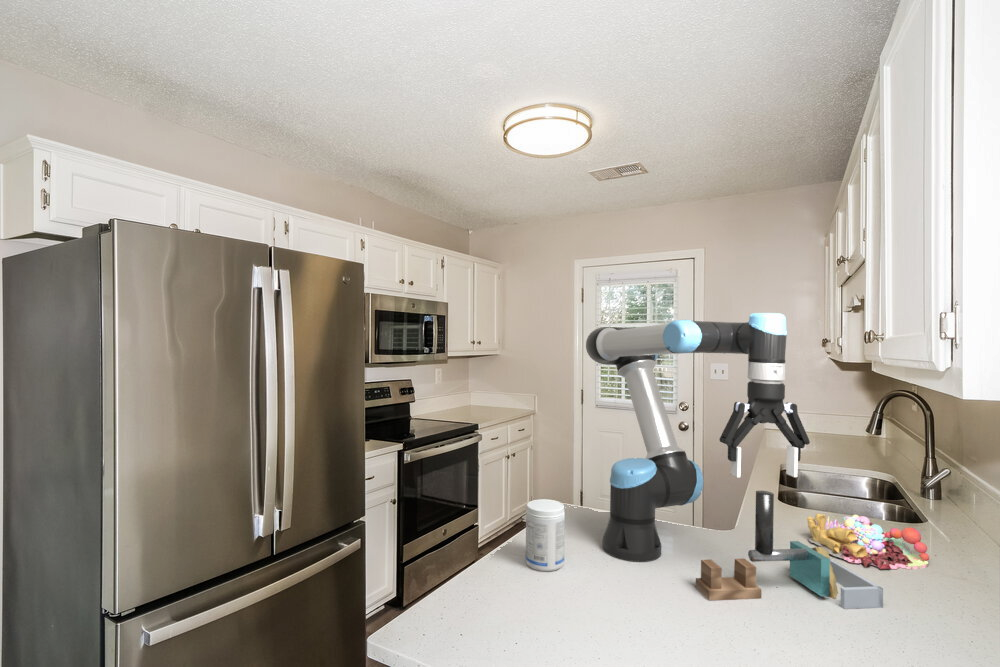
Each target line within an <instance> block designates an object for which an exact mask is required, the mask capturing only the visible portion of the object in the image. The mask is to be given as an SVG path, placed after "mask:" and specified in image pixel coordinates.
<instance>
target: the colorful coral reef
mask: <svg viewBox="0 0 1000 667" xmlns="http://www.w3.org/2000/svg"><path fill="white" fill-rule="evenodd" d="M806 520H807V528H808V529H809V532H810V534H811V536H812V537H809V538H808V542H809V543H813V544H815V545H817V546H818V547H822V548H823V549H825V550H826V551H828V554H829V555H831V556H833V557H836V558H839V559H842V560H845V561H847V562H848V563H851V564H862V565H863V566H864V568H867V567H868V566H871V565H872V566H874V567H877V568H879V570H898V569H899V568H901V569H907V570H918V569H926V568H927V567H928V566H929V562H928V561H929V560H930V555H929V554H928V553H927V551H928V546H927V544H925V542H922V541H921V540H922V536H921V533H920V532H919V530H917V529H916V528H913V527H904V528H903V529H902V530H900V529H899V528H896V527H893V528H891V529H890V530H889V531H884V530H883V528H882V527H881V525H878V524H873V522H871V520H870V519H869V518H868V517H867V516H863V515H860V516H859V515H858V514H853V515H852V516H848V515H847V516H844V517H843V518H842V520H843V522H842V523H839V522H838V521H837V518H835V520H834V521H833V520H830V516H829V515H828V516H826V514H822V513H821V514H820V513H815V515H814V518H813V517H811V516H808V517H807V518H806ZM901 538H902V540H901ZM908 544H909V545H913V549H914V550H915V552H917V553H919V555H918V554H916V553H915V552H913V551H911V549H910V547H909V545H908Z"/></svg>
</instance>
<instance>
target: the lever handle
mask: <svg viewBox="0 0 1000 667" xmlns="http://www.w3.org/2000/svg"><path fill="white" fill-rule="evenodd" d="M774 496H775V494H774V493H773V492H771V491H768V490H756V491H755V517H754V519H755V520H754V521H755V522H754V523H755V524H754V525H755V526H754V530H755V531H754V532H755V533H754V535H755V536H754V549H750V550H748V552H747V553H748V554H747V556H748V559H749V560H750V561H751V562H752V563H754V562H755V563H756V562H783V561H784V562H786V561H787V562H789V576H790V577H792V578H793V579H794V580H796V581H798V582H799V583H800V584H801V585H803V586H805V587H806V588H808V589H809V590H810V591H813V592H814V593H815V594H817V595H818V596H820V597H828V596H829V585H830V559H831V558H830V559H829V558H827V557H825V556H824V555H822V554H820V553H818V552H816V551H815V550H813V549H811V548H812V547H809V546H808V545H806V544H805V543H802V542H801V541H799V540H791V541H789V548H782V549H781V548H777V549H776V548H775V549H774V512H775V511H774V508H775V506H774V505H775V503H774V502H775V497H774ZM750 561H749V562H750Z"/></svg>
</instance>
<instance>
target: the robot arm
mask: <svg viewBox="0 0 1000 667" xmlns="http://www.w3.org/2000/svg"><path fill="white" fill-rule="evenodd" d="M787 335H788V331H787V318H786V315H784V314H782V313H778V312H777V313H776V312H755V313H751V314H750V315H749V319H748V321H747V322H746V321H745V322H733V321H732V322H729V321H726V322H725V321H703V320H702V321H701V320H690V319H679V320H672V321H670V322H669V323H662V324H655V325H647V326H641V327H640V326H639V327H635V326H634V327H613V326H602V327H598V328H596V329H594V330H593V331H591V332H590V333H589V335H588V336H587V338H586V341H585V349H586V353H587V355H588V356H589V358H590V359H591V360H593V361H594V362H596V363H598V364H601V365H607V366H611V365H612V366H615V367H616V370H617V374H618V375H619V376H621V377H623V378H624V379H625V383H626V385H627V388H628V389H627V390H628V393H629V396H630V399H631V403H632V407H633V409H634V413H635V416H636V419H637V422H638V425H639V429H640V433H641V437H642V439H643V444H644V447H645V449H646V452H647V454H646V456H645V458H642V457H640V458H639V457H636V458H634V457H631V458H630V457H629V458H624V459H621V460H618V461H616V462H615V463H614V464H613V465H612V466H611V470H610V477H609V483H610V492H609V493H610V498H609V500H610V501H609V502H610V503H609V520H608V523H607V525H606V528H605V532H604V535H603V538H602V548H603V551H605V552H606V554H608V555H610V556H612V557H614V558H618V559H620V560H623V561H629V562H643V563H644V562H649V561H650V562H651V561H655V560H657V559H659V558H660V557H661V556H662V543H661V539H660V536H659V532H658V529H657V526H656V509H660V508H668V507H676V506H681V507H682V506H684V505H687V504H691V503H695V501H697V500H699V498H700V496H701V495H702V491H703V490H704V476H703V472H702V470H701V468H700V466H699V465H698V464H696V462H694V461H693V460H690V459H689V458H688V456H687V453H686V450H685V449H683V448H680V447H679V446H678V444H677V441H676V437H675V434H674V432H673V429H672V425H671V423H670V422H671V421H670V418H669V416H668V413H667V410H666V407H665V403H664V401H663V400H664V399H663V398H662V395H661V391H660V389H659V386H658V382H657V380H656V376H655V373H654V368H655V366H656V365H657V363H656V361H657V359H658V356H659V355H673V354H675V355H676V354H736V355H738V354H739V355H741V354H742V355H748V356H747V362H748V363H747V379H748V380H749V381H748V382H747V387H746V388H747V389H746V390H747V393H746V395H747V396H746V397H747V398H748V401H747V403H743V402H739V401H735V402H734V404H733V409H732V410H733V411H732V413H731V415H730V416H729V419H728V421H727V423H726V425H725V427H724V429H723V431H722V433H721V435H720V437H719V442H721V443H723V444H725V445H727V459H728V461H730V475H732V476H733V477H735V478H741V474H742V473H741V470H742V468H741V467H742V466H741V464H742V447H740V446H739V445H740V444H741V443H742V441H743V440H744V439H745V438H746V437H747V436H748V434H749V433H750V432H751V431H752V429H753V428H754V427H755V426H757V425H758V424H766V423H767V424H775V425H776V427H777V428H778V429H779V431H780V432H781V433H782V434H783V436H784V437H785V439H786V440H787V441H788V443H789V445H786V463H785V465H786V466H785V467H786V468H785V470H786V471H785V474H786V475H788V476H789V477H792V478H798V467H799V466H798V464H799V462H800V461H801V457H802V456H801V454H802V453H801V451H802V450H801V449H804V448H805V446H806V445H809V444H810V439H809V436H808V434H807V431H806V429H805V427H804V425H803V422H802V421H801V418H800V416H799V414H798V405H797V404H796V403H792V402H786V403H784V400H785V398H786V384H784V383H783V382H784V381H786V347H787V337H788V336H787ZM746 412H748V413H747V415H746V416H745V417H744V415H745V413H746ZM783 413H785V416H786V417H787V419H788V422H789V424H790V425H789V424H788V423H787V420H786V419H785V417H784V416H783V415H782V414H783ZM742 419H743V421H742Z"/></svg>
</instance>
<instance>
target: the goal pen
mask: <svg viewBox="0 0 1000 667" xmlns="http://www.w3.org/2000/svg"><path fill="white" fill-rule="evenodd" d="M830 563H831V566H832V568H833V573H834V575H835V579H836V583H838V584H839V585H841V586H842V587H840V604H839V606H840V608H842V609H844V610H852V609H853V610H854V609H856V610H857V609H873V608H874V609H878V608H879V609H880V608H884V588H883V587H881V586H879V585H878V584H876V583H874V582H873V581H871V580H869V579H868V578H865V577H864V576H862V575H860V574H858V573H857V572H855V571H853V570H851V569H849V568H847V567H846V566H844V565H842V564H840V563H839V562H837V561H836V560H833V559H832V558H830Z"/></svg>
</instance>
